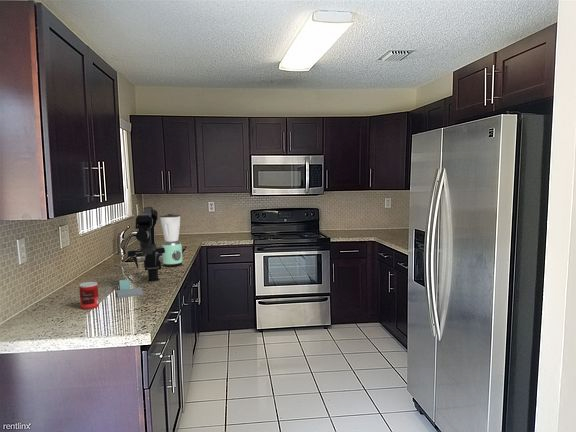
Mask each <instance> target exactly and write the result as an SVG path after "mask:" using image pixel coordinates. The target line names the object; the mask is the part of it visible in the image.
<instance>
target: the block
mask: <svg viewBox="0 0 576 432" xmlns="http://www.w3.org/2000/svg"><path fill="white" fill-rule="evenodd" d="M130 281H131V280H130V279H128V278H127V279H119V281H118V282H119V290H125V289H131V284H130V283H131V282H130Z"/></svg>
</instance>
